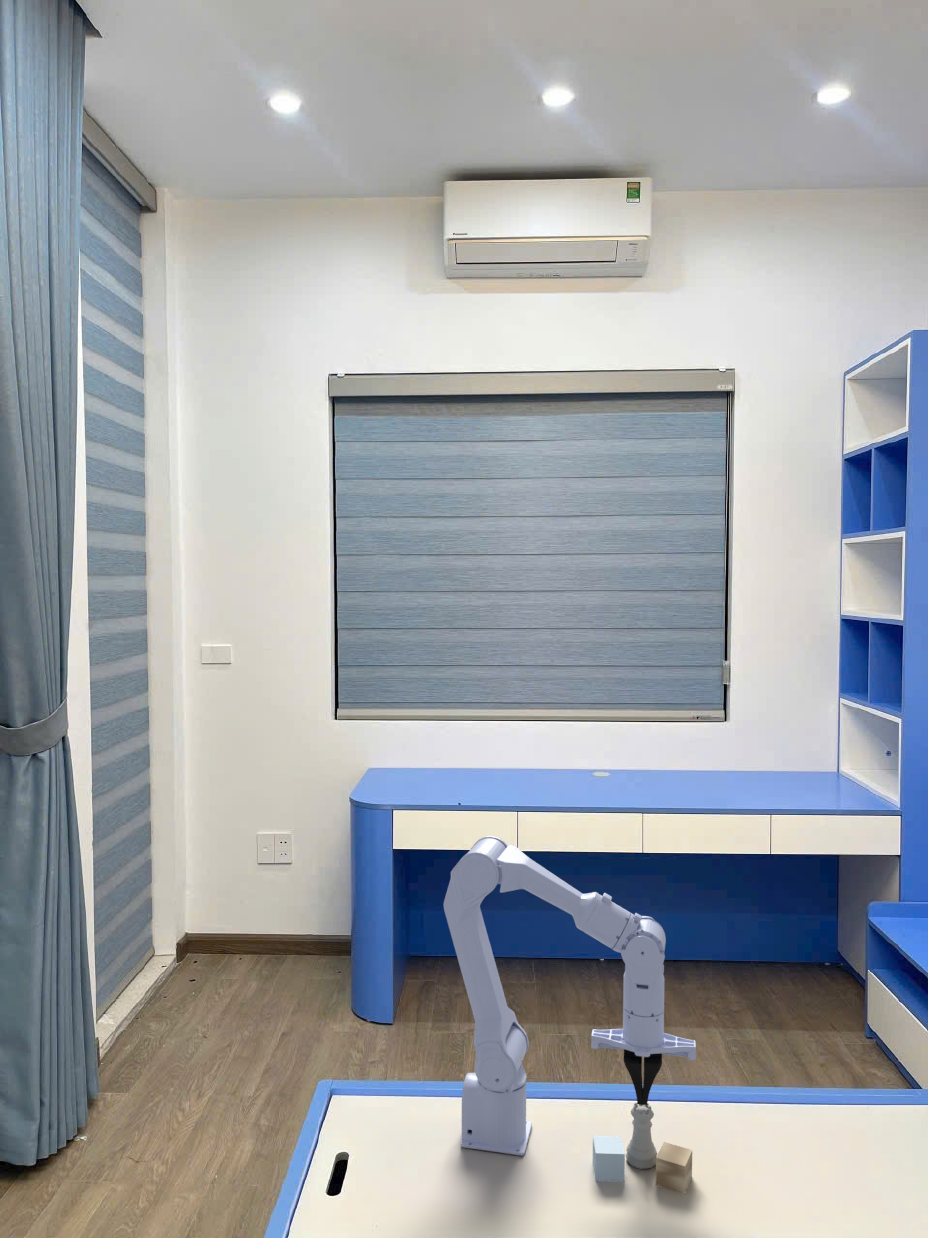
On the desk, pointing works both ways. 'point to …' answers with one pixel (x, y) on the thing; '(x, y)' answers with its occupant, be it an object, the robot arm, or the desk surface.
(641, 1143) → the rook chess piece
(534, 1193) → the desk surface
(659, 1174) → the beech block
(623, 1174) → the pale blue block
